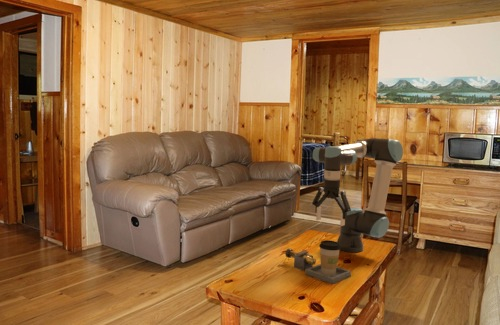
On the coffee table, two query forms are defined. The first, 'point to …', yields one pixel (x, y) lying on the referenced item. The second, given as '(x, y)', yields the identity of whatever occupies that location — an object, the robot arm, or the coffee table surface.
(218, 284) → the coffee table surface
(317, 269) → the grey square tray
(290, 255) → the lock pin
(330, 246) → the coffee cup
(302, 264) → the pin mount
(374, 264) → the coffee table surface
